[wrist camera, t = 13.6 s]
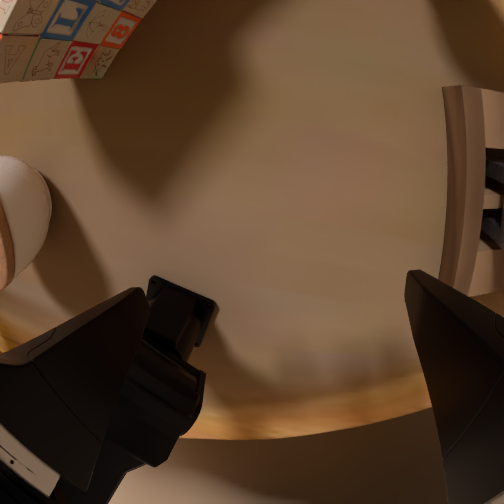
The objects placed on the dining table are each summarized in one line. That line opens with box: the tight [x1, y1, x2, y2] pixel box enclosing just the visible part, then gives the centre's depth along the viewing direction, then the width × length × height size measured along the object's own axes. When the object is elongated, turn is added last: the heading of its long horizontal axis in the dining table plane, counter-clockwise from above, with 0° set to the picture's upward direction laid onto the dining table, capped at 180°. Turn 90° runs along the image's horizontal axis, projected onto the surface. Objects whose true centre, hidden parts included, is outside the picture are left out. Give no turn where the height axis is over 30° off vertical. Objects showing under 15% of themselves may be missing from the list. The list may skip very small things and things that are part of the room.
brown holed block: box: [438, 85, 504, 297], centre depth 16 cm, size 10×16×3 cm, turn 10°
